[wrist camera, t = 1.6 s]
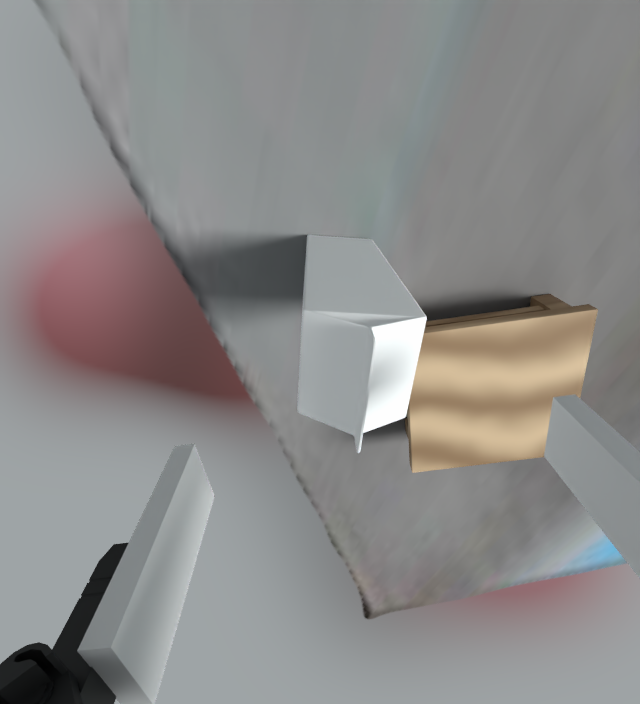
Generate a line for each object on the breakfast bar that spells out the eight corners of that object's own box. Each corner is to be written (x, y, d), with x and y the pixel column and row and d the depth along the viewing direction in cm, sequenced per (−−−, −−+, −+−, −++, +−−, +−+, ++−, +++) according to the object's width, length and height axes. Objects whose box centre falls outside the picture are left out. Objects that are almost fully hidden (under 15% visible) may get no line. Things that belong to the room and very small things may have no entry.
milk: (303, 296, 37) (290, 455, 18) (307, 233, 34) (295, 338, 15) (365, 300, 37) (420, 461, 18) (374, 237, 35) (449, 346, 15)
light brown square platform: (393, 310, 38) (406, 335, 33) (556, 287, 37) (597, 309, 32) (400, 435, 45) (412, 472, 40) (537, 418, 44) (568, 453, 39)
